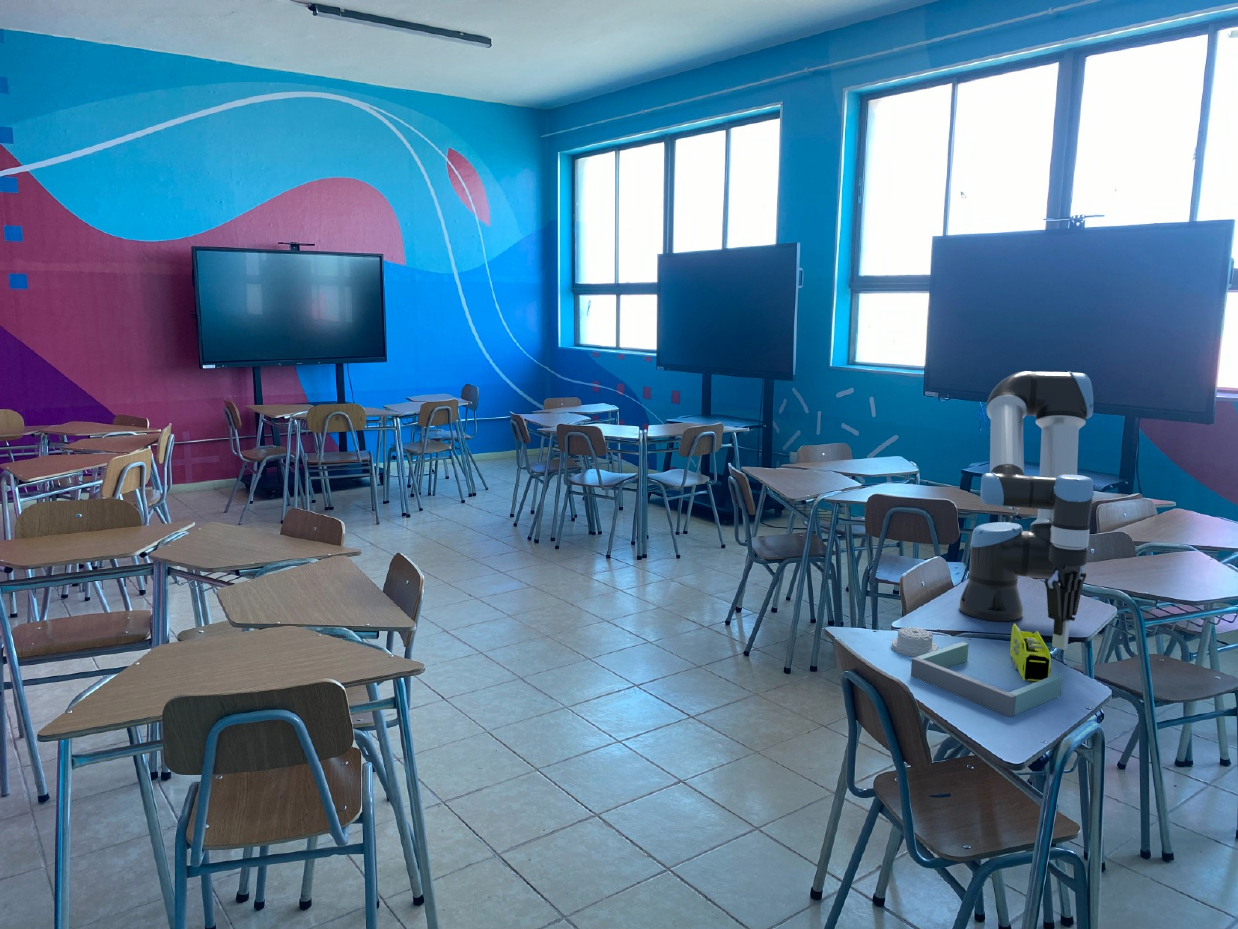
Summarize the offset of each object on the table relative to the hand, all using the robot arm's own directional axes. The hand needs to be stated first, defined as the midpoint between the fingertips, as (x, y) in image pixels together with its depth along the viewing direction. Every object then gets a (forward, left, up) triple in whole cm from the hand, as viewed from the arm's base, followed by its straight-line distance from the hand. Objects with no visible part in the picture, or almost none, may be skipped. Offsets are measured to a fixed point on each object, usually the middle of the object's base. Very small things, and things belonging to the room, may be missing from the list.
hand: (1059, 647), depth 195 cm
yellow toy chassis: (+12, 0, -3) cm, 12 cm away
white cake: (+23, -21, -3) cm, 31 cm away
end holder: (+27, 0, -3) cm, 27 cm away
